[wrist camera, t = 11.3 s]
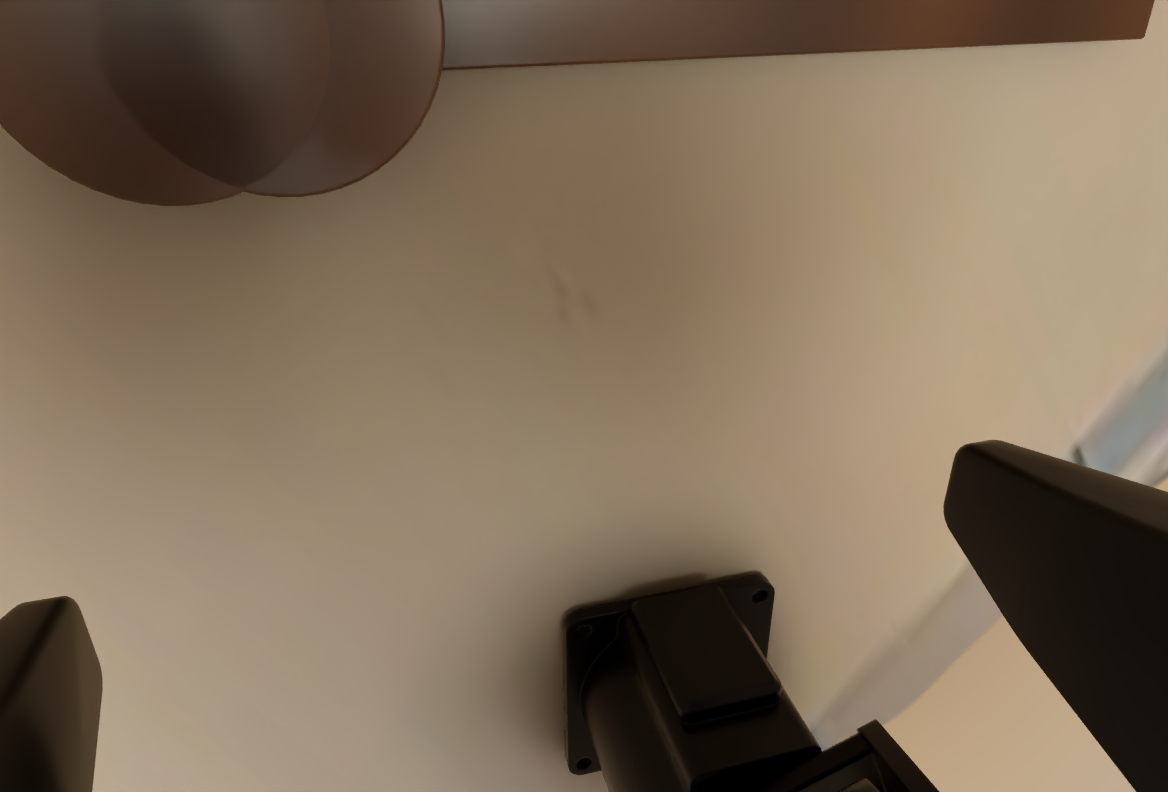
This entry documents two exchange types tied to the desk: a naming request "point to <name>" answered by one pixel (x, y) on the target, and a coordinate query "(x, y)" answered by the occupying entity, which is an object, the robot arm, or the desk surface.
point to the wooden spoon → (394, 71)
